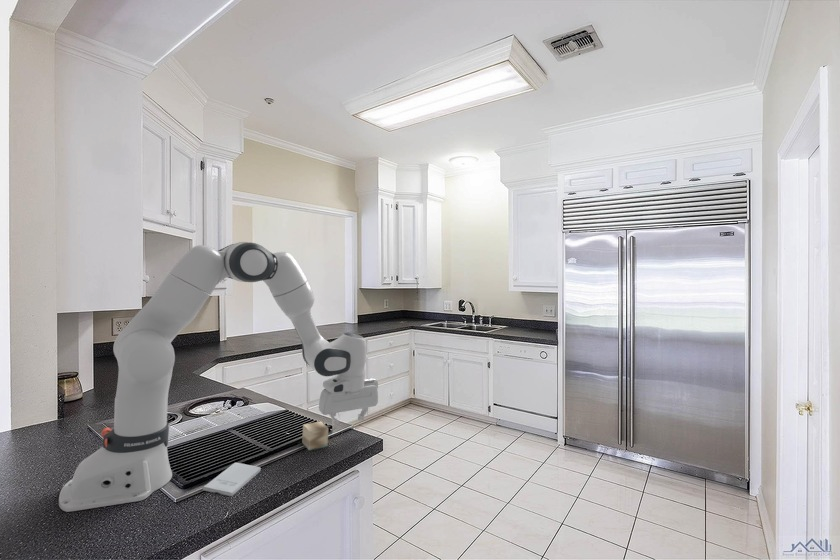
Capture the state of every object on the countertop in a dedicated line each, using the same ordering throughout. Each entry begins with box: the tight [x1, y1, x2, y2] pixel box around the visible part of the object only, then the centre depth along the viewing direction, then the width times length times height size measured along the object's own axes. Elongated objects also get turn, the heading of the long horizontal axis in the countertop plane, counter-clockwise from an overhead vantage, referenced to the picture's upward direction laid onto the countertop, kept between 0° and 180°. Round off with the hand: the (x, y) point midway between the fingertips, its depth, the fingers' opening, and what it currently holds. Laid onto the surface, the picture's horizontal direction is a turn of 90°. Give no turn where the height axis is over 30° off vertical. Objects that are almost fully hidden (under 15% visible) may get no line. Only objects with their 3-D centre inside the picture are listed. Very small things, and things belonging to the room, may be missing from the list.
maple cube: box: [301, 421, 329, 451], centre depth 131 cm, size 6×6×6 cm
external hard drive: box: [202, 462, 262, 497], centre depth 108 cm, size 2×8×12 cm
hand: (348, 422), depth 137 cm, fingers open, 8 cm apart
